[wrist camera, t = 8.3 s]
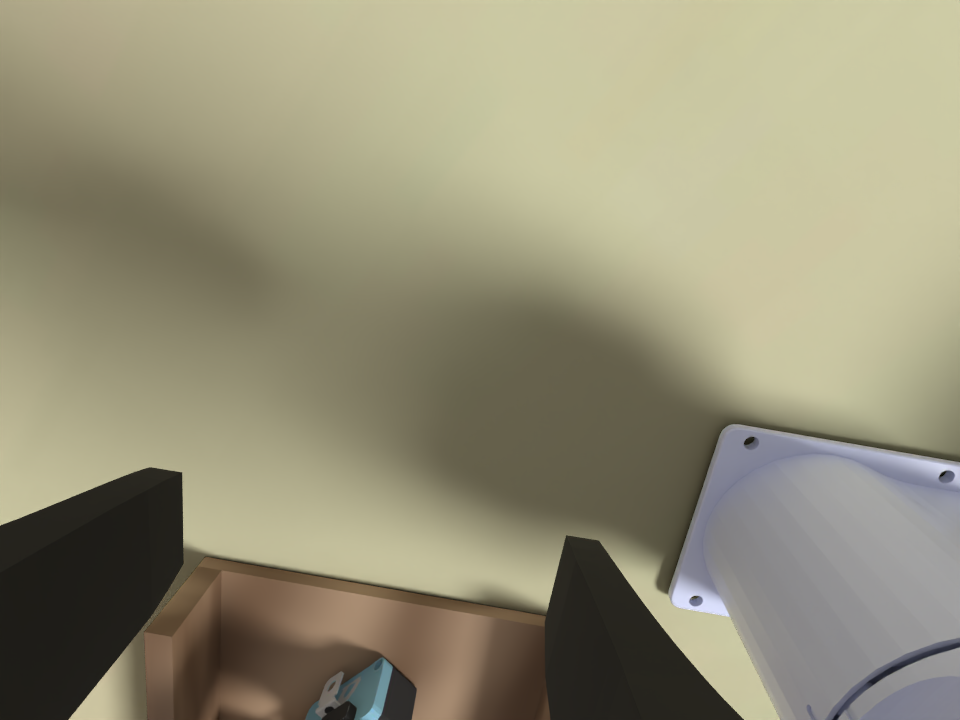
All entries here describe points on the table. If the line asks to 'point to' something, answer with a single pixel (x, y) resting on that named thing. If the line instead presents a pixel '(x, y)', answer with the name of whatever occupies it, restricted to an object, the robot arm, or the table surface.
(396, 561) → the table surface
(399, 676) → the push button
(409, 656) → the walled box
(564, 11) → the table surface
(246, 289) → the table surface
